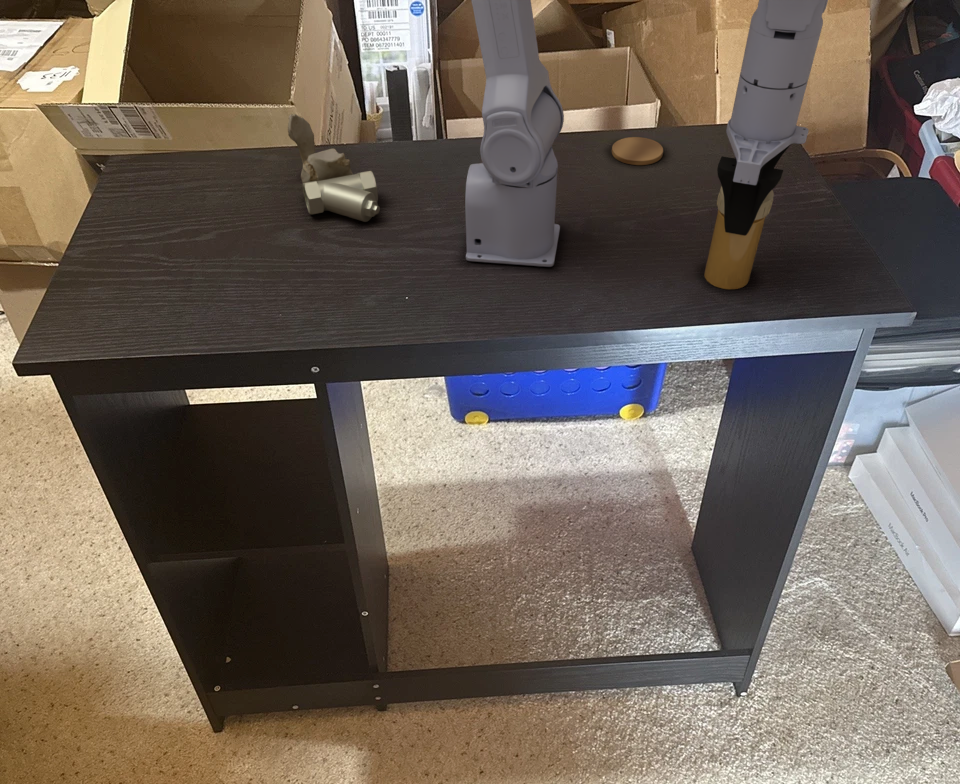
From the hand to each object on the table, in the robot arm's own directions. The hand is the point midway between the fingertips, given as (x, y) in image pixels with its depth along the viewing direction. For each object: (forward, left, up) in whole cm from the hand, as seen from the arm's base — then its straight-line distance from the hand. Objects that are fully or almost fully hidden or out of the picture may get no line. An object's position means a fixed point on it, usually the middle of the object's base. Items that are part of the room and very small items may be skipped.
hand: (740, 218), depth 82 cm
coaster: (-10, +26, -7) cm, 29 cm away
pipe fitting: (-43, +7, -7) cm, 44 cm away
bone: (-47, +13, -7) cm, 49 cm away
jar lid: (0, 0, +2) cm, 2 cm away
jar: (0, 0, -7) cm, 7 cm away
